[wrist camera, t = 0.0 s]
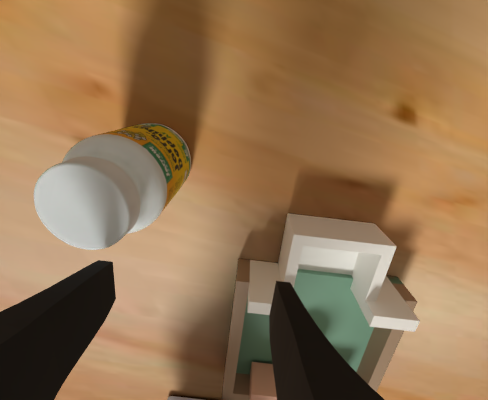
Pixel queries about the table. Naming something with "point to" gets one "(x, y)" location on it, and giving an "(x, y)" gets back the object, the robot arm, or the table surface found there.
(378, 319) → the pitch
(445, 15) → the table surface
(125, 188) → the supplement bottle
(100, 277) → the robot arm
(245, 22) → the table surface
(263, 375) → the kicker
